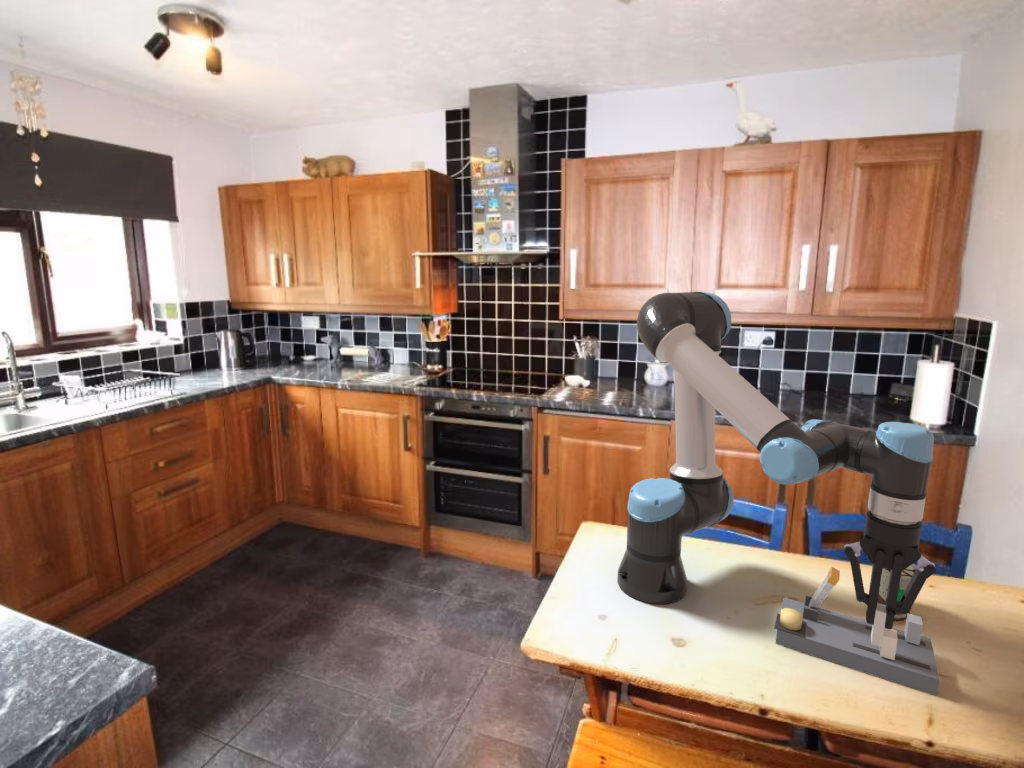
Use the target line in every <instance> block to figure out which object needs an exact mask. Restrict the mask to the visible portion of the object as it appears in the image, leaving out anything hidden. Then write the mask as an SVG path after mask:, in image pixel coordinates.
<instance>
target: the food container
mask: <svg viewBox="0 0 1024 768" xmlns="http://www.w3.org/2000/svg"><path fill="white" fill-rule="evenodd" d="M871 567H873V564H872V566H871ZM916 569H917V566H916V564H915V563H913V564H912V565H910V566H909V567H907V568H906V569H904V570H902V572H901V578H900V583H899V590H898V597H897V601H900V599H901V597H902V595H903V593H904V592H905V590H906V588H907V586H908V584H909V582H910V580H911V578H912V576H913V574H914V572H915V571H916ZM889 577H890V569H888V568H883V570H882V575H881V581H880V588H879V595H878V602H877V603H879V604H882V605H886V599H887V592H888V584H889ZM912 607H913V606H912ZM912 607H911V609H910V611H909V614H911V611H912ZM906 619H907V614H904V613H902V612H897V613H896V614H895V616H894V621H893V623H894V622H896V623H897V622H898V623H899V622H904V621H905V622H906Z"/></svg>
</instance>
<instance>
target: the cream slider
mask: <svg viewBox="0 0 1024 768" xmlns="http://www.w3.org/2000/svg"><path fill="white" fill-rule="evenodd" d="M897 641H898V639H897V631H896V630H893V629H891V630H890V629H887V628H884V634H883V641H882V647H880V656H882V657H885V658H888V659H891V660H895V653H896V647H897Z"/></svg>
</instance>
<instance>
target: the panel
mask: <svg viewBox="0 0 1024 768" xmlns="http://www.w3.org/2000/svg"><path fill="white" fill-rule="evenodd" d="M812 596H813V595H811V594H808V593H806V594H805V599H804V602H802V601H798V600H797V599H796V600H795V599H791V598H788V597H783V600H782V603H781V604H782V605H781V608H780V611H781V610H782V609H784V608H791V609H794V610H797V611H798V612H800V613H801V614H802V616H803V617H802V626H801V629H800V630H796V631H795V630H789V629H787V628H785V627H783V626H782V625H781V624H780V616H781V612H780V613H777V614H776V618H775V621H774V622H775V623H774V630H776V637H775V644H776V645H778V646H781V647H785V648H787V649H792V650H793V651H798V652H801V653H803V654H807V655H810V656H813V657H816V658H819V659H822V660H825V661H829V662H832V663H835V664H838V665H841V666H844V667H847V668H849V669H853V670H856V671H859V672H862V673H866V674H868V675H871V676H875V677H877V678H881V679H884V680H887V681H890V682H892V683H896V684H900V685H903V686H906V687H909V688H912V689H915V690H918V691H920V692H921V691H922V692H924V693H927V694H930V695H933V696H938V691H939V687H940V680H941V679H940V675H939V670H938V665H937V661H936V656H935V653H934V652H935V651H934V648H933V647H934V646H933V642H932V638H931V637H927V636H924V635H921V639H920V645H917V644H913V643H910V642H906V640H905V634H904V632H905V630H902V629H900V628H899V629H898V628H895V627H893V628H892V629H893V630H896V631H897V639H898V641H897V647H896V653H895V660H891V659H888V658H885V657H882V656H880V647H879V646H875V645H872V644H871V632H872V624H868V623H867V622H866V619H864V618H861V617H857V616H852V615H849V614H845V613H842V612H838V611H834V610H831V609H827V608H823V607H822V606H820V607H819V608H818V610H815V609H812V608H808V606H809V602H810V599H811V598H812Z"/></svg>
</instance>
